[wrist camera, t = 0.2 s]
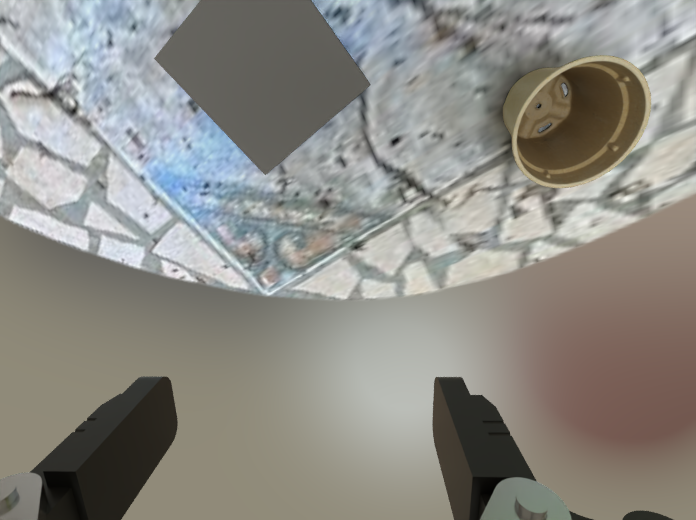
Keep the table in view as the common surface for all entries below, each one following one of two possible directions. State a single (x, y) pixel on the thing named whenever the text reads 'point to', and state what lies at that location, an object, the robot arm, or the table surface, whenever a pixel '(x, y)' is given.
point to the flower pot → (576, 119)
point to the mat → (263, 72)
